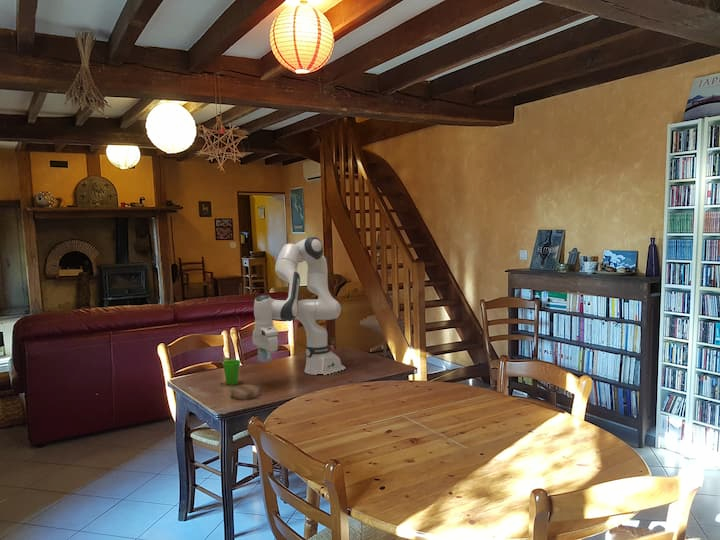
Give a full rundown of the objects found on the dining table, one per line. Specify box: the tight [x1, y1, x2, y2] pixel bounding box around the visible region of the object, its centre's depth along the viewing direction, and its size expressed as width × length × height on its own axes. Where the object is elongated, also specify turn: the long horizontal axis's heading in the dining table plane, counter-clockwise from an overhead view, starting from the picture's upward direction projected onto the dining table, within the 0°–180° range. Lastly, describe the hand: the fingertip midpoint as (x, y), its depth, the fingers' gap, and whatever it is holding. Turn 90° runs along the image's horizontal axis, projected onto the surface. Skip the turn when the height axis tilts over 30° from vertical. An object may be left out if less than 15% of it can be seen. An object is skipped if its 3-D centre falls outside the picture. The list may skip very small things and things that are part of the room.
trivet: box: [230, 384, 261, 401], centre depth 235 cm, size 13×13×3 cm
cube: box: [257, 349, 273, 363], centre depth 247 cm, size 5×5×5 cm
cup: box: [222, 359, 242, 386], centre depth 253 cm, size 9×9×11 cm
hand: (265, 356), depth 247 cm, fingers closed on cube, 5 cm apart
